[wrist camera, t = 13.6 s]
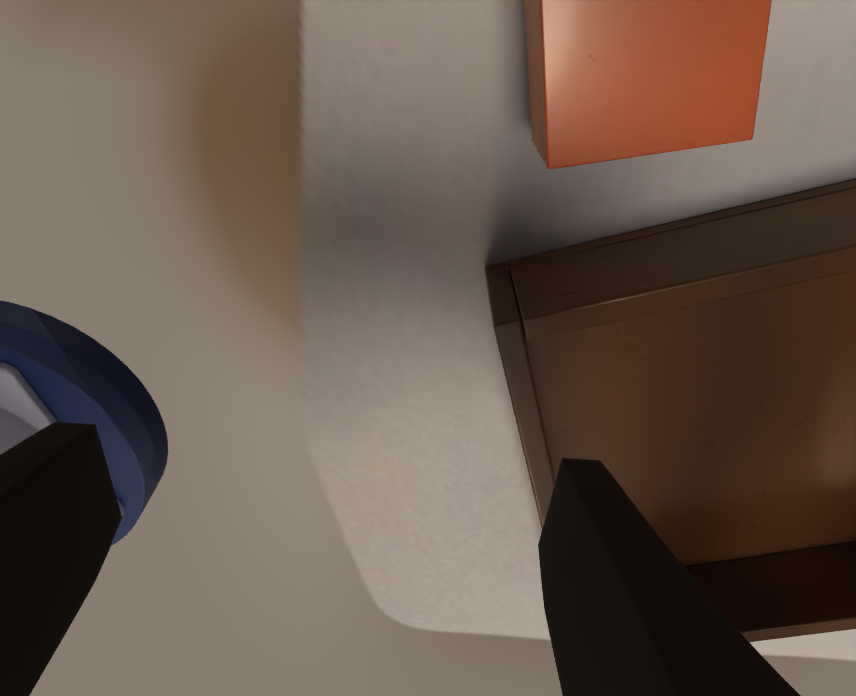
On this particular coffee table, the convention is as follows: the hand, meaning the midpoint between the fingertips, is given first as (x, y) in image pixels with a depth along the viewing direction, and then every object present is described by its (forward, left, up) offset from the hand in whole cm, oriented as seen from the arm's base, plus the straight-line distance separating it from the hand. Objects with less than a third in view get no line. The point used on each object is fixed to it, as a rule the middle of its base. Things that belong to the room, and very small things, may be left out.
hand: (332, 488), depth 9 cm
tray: (+9, -9, -9) cm, 16 cm away
